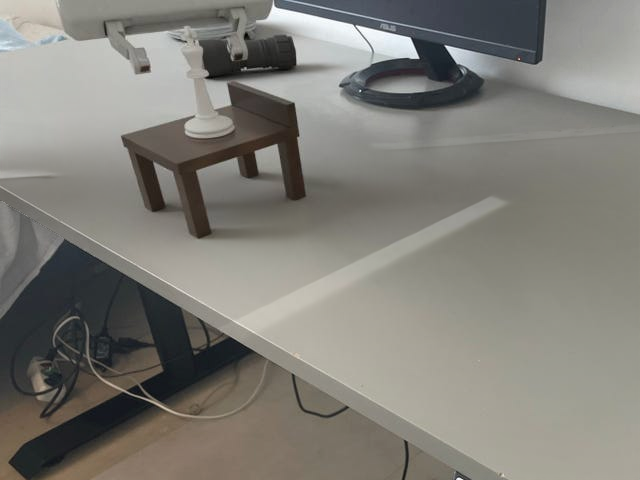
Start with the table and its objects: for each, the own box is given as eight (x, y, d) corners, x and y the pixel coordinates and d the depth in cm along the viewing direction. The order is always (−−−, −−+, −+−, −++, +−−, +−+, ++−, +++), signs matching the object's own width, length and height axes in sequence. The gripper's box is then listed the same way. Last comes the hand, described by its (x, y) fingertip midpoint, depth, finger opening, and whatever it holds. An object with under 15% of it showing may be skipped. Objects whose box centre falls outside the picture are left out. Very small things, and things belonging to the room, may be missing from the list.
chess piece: (244, 125, 75) (224, 23, 69) (215, 141, 72) (191, 34, 66) (205, 119, 77) (182, 18, 71) (174, 135, 73) (147, 29, 67)
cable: (257, 42, 133) (251, 7, 129) (158, 47, 130) (148, 11, 126) (259, 21, 146) (254, -12, 142) (170, 25, 143) (162, -9, 139)
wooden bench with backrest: (197, 240, 72) (170, 138, 66) (142, 207, 78) (112, 111, 71) (308, 196, 80) (294, 102, 74) (251, 169, 86) (234, 80, 80)
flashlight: (294, 63, 122) (289, 29, 119) (300, 71, 118) (296, 36, 115) (201, 71, 118) (193, 36, 114) (204, 81, 114) (196, 45, 110)
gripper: (21, -82, 64) (73, 59, 63) (247, -93, 72) (295, 32, 72) (34, -33, 69) (82, 97, 69) (242, -48, 78) (287, 67, 78)
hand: (193, 63), depth 70 cm, fingers open, 8 cm apart
